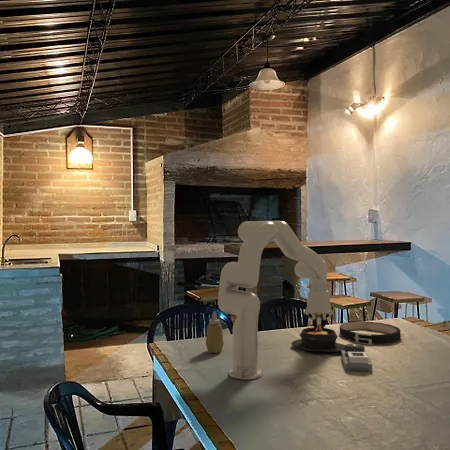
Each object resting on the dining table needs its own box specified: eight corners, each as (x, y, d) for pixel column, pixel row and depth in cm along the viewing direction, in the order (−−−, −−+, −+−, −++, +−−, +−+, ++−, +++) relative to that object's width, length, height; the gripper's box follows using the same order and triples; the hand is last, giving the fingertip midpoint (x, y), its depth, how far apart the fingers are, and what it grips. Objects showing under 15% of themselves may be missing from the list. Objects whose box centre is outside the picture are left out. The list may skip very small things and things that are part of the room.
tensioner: (372, 372, 177) (372, 355, 177) (345, 371, 178) (345, 354, 178) (365, 358, 194) (365, 342, 194) (341, 357, 196) (341, 341, 196)
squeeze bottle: (224, 349, 209) (224, 310, 209) (222, 354, 201) (222, 313, 201) (207, 349, 210) (206, 309, 210) (204, 354, 202) (204, 313, 202)
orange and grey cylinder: (322, 331, 207) (322, 311, 206) (315, 331, 207) (315, 311, 207) (322, 330, 210) (321, 310, 209) (315, 329, 210) (315, 310, 210)
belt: (332, 340, 224) (332, 330, 223) (346, 327, 250) (346, 318, 250) (396, 348, 210) (396, 337, 210) (404, 333, 236) (403, 323, 236)
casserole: (284, 350, 206) (284, 332, 206) (299, 341, 223) (299, 323, 222) (340, 358, 194) (340, 339, 194) (351, 347, 210) (351, 329, 210)
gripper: (300, 288, 206) (300, 329, 206) (337, 289, 203) (338, 330, 203) (300, 286, 213) (300, 325, 213) (336, 286, 210) (336, 326, 211)
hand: (318, 327), depth 208 cm, fingers closed on orange and grey cylinder, 3 cm apart
